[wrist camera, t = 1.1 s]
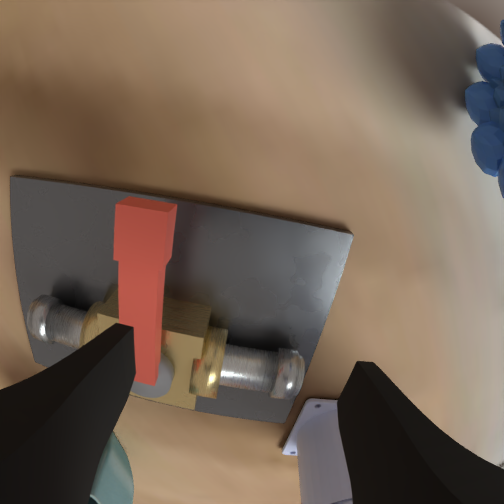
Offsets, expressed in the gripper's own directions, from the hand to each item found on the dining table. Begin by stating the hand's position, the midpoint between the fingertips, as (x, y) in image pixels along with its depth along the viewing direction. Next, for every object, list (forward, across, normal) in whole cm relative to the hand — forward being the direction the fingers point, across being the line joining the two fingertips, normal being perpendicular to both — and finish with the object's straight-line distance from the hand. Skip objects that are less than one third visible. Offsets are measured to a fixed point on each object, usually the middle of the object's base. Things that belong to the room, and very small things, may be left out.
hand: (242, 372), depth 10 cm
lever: (+6, +5, +2) cm, 8 cm away
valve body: (+9, +6, +5) cm, 12 cm away
